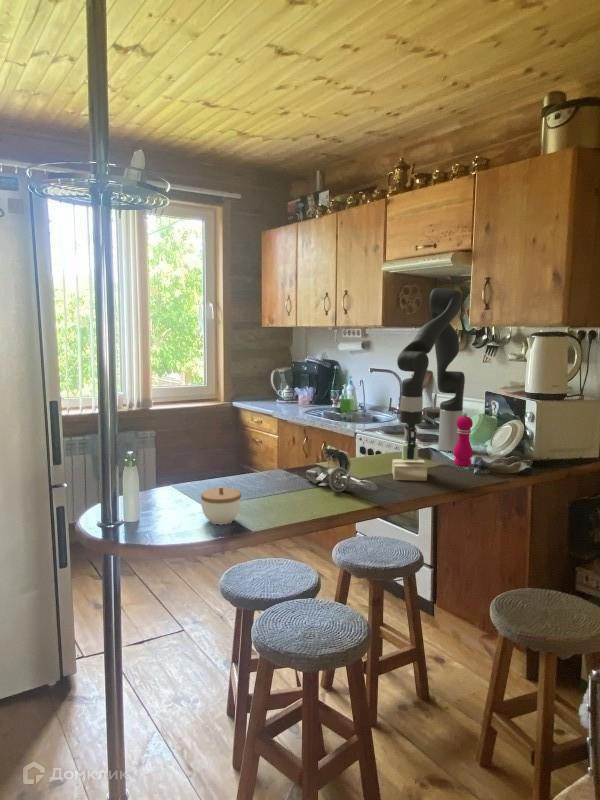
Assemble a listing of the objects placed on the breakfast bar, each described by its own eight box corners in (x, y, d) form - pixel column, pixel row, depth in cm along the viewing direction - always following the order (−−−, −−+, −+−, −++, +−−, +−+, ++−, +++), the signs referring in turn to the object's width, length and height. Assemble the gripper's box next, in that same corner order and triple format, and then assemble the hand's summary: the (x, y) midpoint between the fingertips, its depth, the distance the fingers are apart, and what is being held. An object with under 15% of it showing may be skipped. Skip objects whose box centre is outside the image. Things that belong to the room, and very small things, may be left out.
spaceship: (363, 481, 173) (382, 468, 177) (293, 469, 201) (310, 457, 205) (372, 505, 175) (390, 491, 179) (302, 489, 203) (318, 477, 208)
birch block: (392, 472, 217) (392, 458, 216) (422, 473, 216) (423, 459, 215) (394, 480, 206) (394, 466, 205) (426, 481, 205) (427, 467, 204)
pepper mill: (474, 466, 225) (477, 413, 222) (455, 466, 225) (457, 413, 222) (469, 462, 232) (472, 411, 229) (450, 461, 232) (453, 410, 229)
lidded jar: (200, 528, 156) (199, 493, 155) (202, 515, 167) (202, 482, 165) (241, 527, 157) (241, 492, 156) (241, 514, 168) (241, 481, 167)
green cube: (401, 456, 213) (402, 443, 212) (416, 457, 212) (416, 443, 211) (402, 460, 208) (403, 446, 207) (417, 460, 207) (418, 446, 206)
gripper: (398, 405, 215) (397, 452, 217) (402, 411, 201) (400, 461, 203) (420, 406, 214) (418, 452, 216) (424, 412, 200) (422, 462, 202)
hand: (409, 456), depth 210 cm, fingers closed on green cube, 5 cm apart
